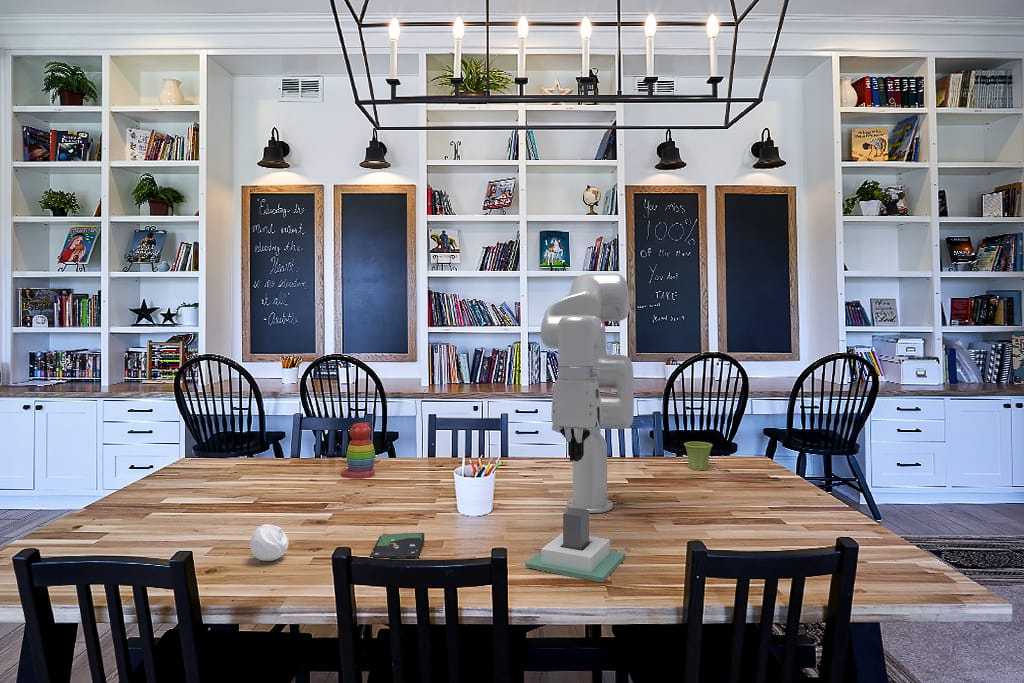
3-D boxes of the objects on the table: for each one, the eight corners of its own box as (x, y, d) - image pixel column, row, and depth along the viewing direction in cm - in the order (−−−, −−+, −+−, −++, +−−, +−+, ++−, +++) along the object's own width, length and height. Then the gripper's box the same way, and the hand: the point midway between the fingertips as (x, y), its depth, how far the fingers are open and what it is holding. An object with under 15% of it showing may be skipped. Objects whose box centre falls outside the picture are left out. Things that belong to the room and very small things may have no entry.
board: (553, 545, 148) (553, 528, 148) (625, 557, 140) (625, 539, 140) (525, 567, 135) (525, 549, 135) (602, 582, 127) (602, 562, 127)
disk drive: (418, 568, 137) (424, 543, 151) (417, 555, 136) (424, 531, 151) (368, 569, 136) (380, 544, 151) (368, 556, 136) (380, 532, 151)
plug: (573, 551, 142) (573, 506, 141) (591, 553, 140) (591, 508, 140) (563, 560, 136) (563, 513, 136) (580, 563, 134) (580, 516, 134)
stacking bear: (367, 470, 224) (366, 419, 223) (382, 475, 216) (381, 422, 216) (338, 475, 217) (337, 422, 216) (353, 480, 209) (352, 426, 209)
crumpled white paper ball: (282, 566, 136) (281, 530, 136) (245, 567, 136) (244, 531, 136) (292, 552, 144) (291, 518, 144) (257, 553, 144) (256, 519, 143)
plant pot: (707, 473, 217) (708, 447, 217) (680, 469, 222) (680, 444, 222) (715, 467, 225) (715, 443, 225) (689, 464, 230) (689, 440, 230)
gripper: (615, 374, 137) (615, 459, 137) (550, 371, 143) (550, 453, 144) (603, 377, 130) (603, 467, 131) (536, 374, 137) (536, 460, 137)
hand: (575, 459), depth 137 cm, fingers closed
